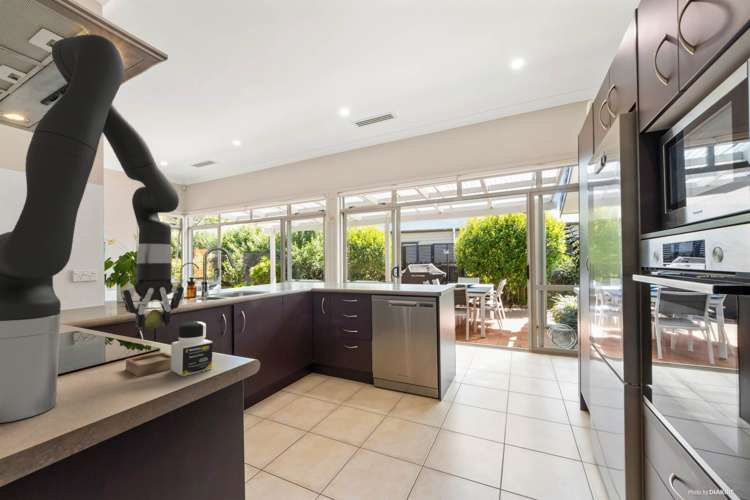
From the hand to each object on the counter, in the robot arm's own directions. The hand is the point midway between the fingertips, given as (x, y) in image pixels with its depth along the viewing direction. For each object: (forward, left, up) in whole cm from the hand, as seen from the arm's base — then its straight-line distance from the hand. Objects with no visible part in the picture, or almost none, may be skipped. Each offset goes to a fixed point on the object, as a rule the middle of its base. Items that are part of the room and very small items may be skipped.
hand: (152, 327), depth 83 cm
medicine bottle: (+6, -9, -11) cm, 15 cm away
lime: (0, 0, -1) cm, 1 cm away
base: (0, 0, -11) cm, 11 cm away
